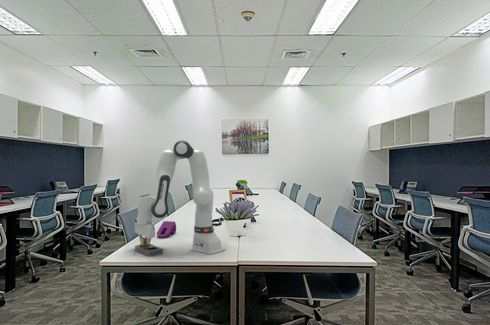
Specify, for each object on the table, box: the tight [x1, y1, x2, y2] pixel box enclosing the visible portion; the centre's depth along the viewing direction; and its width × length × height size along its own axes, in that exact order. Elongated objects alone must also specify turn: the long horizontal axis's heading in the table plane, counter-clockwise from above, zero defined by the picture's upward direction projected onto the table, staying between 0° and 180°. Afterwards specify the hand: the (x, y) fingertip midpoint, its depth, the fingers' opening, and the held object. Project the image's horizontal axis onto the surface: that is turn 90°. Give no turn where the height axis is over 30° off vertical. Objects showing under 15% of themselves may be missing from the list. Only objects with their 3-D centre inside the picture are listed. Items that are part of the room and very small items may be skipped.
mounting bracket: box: [156, 220, 177, 239], centre depth 232 cm, size 9×8×18 cm
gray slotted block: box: [134, 243, 164, 257], centre depth 189 cm, size 18×9×3 cm, turn 45°
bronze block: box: [139, 236, 149, 247], centre depth 193 cm, size 4×4×8 cm
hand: (144, 242), depth 193 cm, fingers open, 8 cm apart
